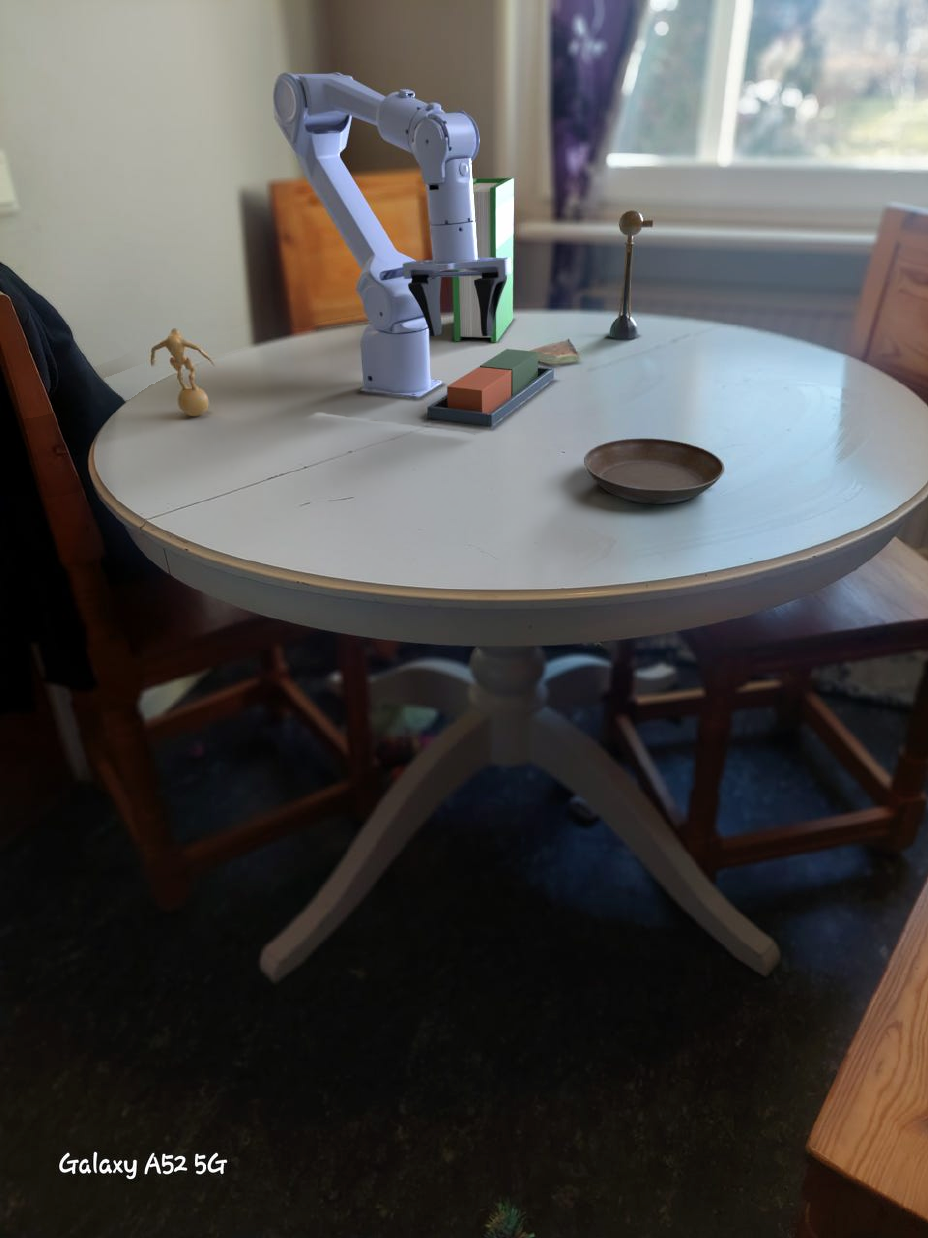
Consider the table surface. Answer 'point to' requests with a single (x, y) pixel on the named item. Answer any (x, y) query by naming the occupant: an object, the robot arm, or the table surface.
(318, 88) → the robot arm
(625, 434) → the table surface
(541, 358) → the tan flat wedge
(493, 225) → the hardback book
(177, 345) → the figurine
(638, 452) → the saucer
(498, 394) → the reddish orange rectangular block
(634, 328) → the ball topped stand
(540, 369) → the tray
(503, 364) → the rear pad
